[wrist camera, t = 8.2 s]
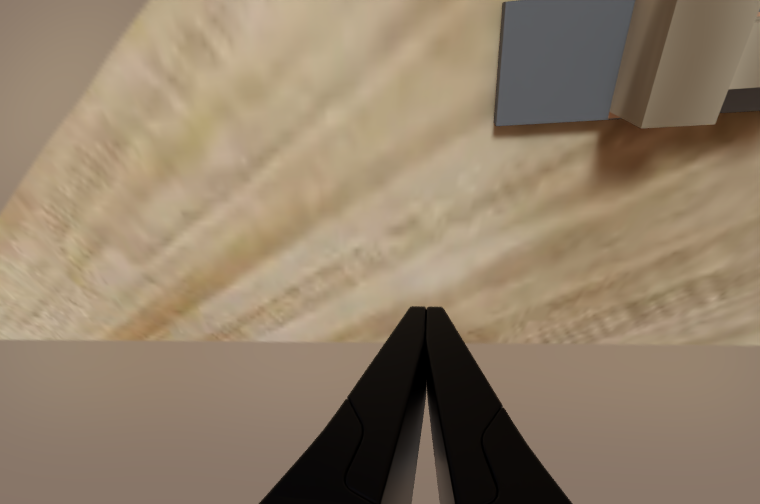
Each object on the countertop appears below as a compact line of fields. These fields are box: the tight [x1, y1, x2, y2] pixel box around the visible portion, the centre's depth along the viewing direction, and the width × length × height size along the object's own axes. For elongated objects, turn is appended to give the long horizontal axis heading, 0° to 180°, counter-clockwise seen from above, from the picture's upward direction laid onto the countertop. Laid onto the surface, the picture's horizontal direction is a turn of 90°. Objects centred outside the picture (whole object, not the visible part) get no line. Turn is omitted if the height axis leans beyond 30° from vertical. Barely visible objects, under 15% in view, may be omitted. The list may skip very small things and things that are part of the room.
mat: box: [494, 0, 760, 126], centre depth 15 cm, size 13×5×1 cm, turn 95°
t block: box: [609, 0, 760, 128], centre depth 13 cm, size 7×4×3 cm, turn 95°
